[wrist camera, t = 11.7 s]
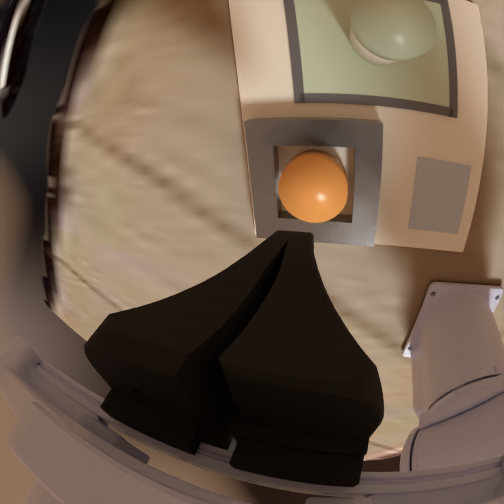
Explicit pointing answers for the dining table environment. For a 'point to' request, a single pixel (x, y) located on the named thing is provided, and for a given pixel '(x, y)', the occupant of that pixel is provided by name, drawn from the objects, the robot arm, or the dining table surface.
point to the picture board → (377, 106)
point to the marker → (391, 30)
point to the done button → (314, 186)
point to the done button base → (316, 134)
